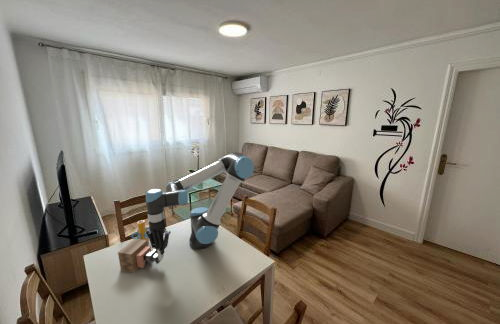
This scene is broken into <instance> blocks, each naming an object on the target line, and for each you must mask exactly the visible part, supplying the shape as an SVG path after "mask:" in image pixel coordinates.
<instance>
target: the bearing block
mask: <svg viewBox="0 0 500 324" xmlns="http://www.w3.org/2000/svg"><path fill="white" fill-rule="evenodd" d="M148 244H149V242H148V243H147V240H142V239H132V240H131V241H130V242H129V243H128V244H126V245H125V246H124V247H122V248H121V249H120V250H119V251H118V252H117V255H118V261H119V267H120V271H122V272H123V271H124V272H129V273H130V272H131V273H136V271H137V270H138V269H139V268H140V267H138V266H137V259H136V254H138V253H139V252H140V251H141V250H142V249H143V248H144V247H145V246H149V245H148ZM146 261H147V260H144V263H146Z"/></svg>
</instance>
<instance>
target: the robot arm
mask: <svg viewBox="0 0 500 324" xmlns="http://www.w3.org/2000/svg"><path fill="white" fill-rule="evenodd" d="M254 171H255V164H254V161H253V160H252V159H251V158H250V157H249V156H246V155H245V154H242V153H240V152H231V153H229V154H226V155H224V156H221V157H220V158H218V160H217V161H215V162H213V163H211V164H210V165H207V166H206V167H203V168H201V169H199V170H197V171H195V172H192V173H191V174H189V175H187V176H184V177H183V178H181V179H179V180H176V181H175V180H173V181H169V182H168V183H167V184H166V187H165V191H164V192H163V190H162V189H160V188H152V189H149V190H148V191H146V192H145V204H146V212H147V220H148V230H147V229H146V234H147V235H148V237H149V242H150V245H151V246H150V247H151V249H156V253H157V254H158V261H160V262H161V261H163V259H164V257H165V256H164V254H165V249H166V248H167V247H168V246H169V245H168V244H169V237H170V235H171V230H167V228H166V219H165V208H168V207H176V206H182V205H185V204H188V202H189V197H188V191H189V190H190V189H193V188H195V187H197V186H198V185H201V184H202V183H204V182H206V181H208V180H210V179H213V178H214V177H217V176H218V175H220V174H223V173H225V174H226V177H225V179H224V181H223V183H222V184H221V186H220V188H219V190H218V191H217V193H216V195H215V197H214V198H213V200H212V202H211V204H210V206H209V208H208V207H203V206H202V207H196V208H193V209H192V210H190V212H189V218H190V228H191V229H190V230H191V232H190V236H189V240H188V241H189V242H188V243H189V244H188V245H189V246H190V248H192V249H193V250H194V249H195V250H204V249H207V248H209V247H211V245H212V244H213V243H214V242H215V241H216V240H217V239H218V237H219V230H218V229H219V227H220V226H221V224H222V223H221V218H222V217H223V215H224V212H225V211H226V209H227V207H228V206H229V203H230V202H231V200H232V198H233V197H234V194H235V193H236V191H237V189H238V187H239V186H240V184H242V183H245V180H246V179H247V178H250V177H251V176H252V174H253V173H254Z"/></svg>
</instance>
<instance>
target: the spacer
mask: <svg viewBox="0 0 500 324" xmlns="http://www.w3.org/2000/svg"><path fill="white" fill-rule="evenodd" d="M147 252H152V246H149V245H148V246H145V247H144V248H143V249H142V250H141V251H140V252H139V253H138V254H136V259H137V266H138V267H139V268H142V269H144V267H145V262H144V258H143V256H144V255H145V254H146V253H147Z"/></svg>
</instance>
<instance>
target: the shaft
mask: <svg viewBox="0 0 500 324" xmlns="http://www.w3.org/2000/svg"><path fill="white" fill-rule="evenodd" d="M143 258H144V260H146V261H147V262H148V264H149V265H152V264H154V262H155V264H157V265H159V264H160V263H161V261H158V254H157V253H156V249H155V248H153V250H151V252H147V253H146V254H145V255H144V256H143Z"/></svg>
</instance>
